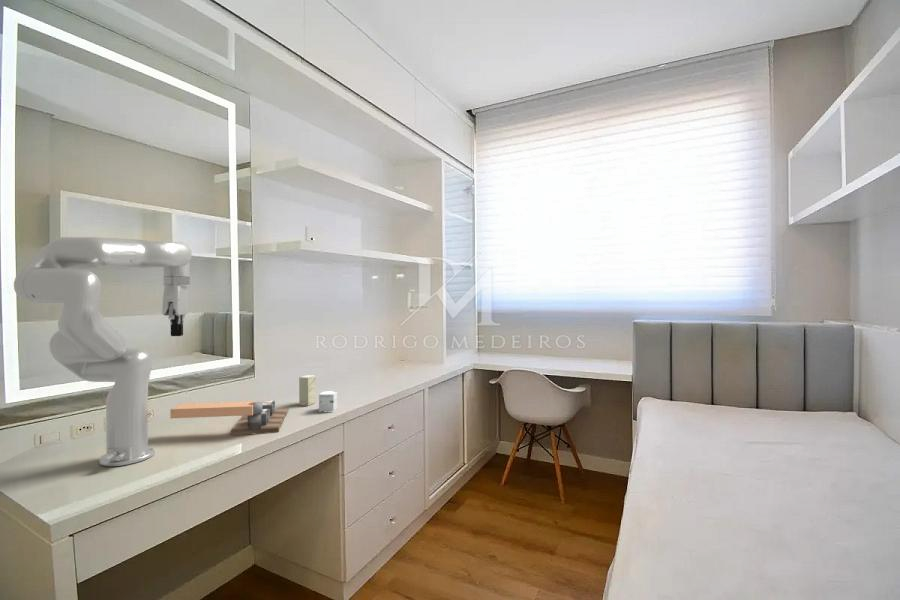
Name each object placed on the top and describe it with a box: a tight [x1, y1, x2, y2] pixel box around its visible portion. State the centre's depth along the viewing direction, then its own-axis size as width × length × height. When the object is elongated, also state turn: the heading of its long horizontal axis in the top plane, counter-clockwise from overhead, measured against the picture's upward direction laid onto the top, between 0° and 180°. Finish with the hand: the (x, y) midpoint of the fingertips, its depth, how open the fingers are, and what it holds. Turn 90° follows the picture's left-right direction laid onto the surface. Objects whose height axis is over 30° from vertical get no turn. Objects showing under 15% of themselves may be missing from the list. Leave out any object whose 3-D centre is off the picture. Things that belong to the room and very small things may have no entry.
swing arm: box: [169, 400, 263, 419], centre depth 139 cm, size 27×7×3 cm, turn 99°
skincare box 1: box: [298, 374, 316, 407], centre depth 179 cm, size 6×4×12 cm
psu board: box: [230, 400, 289, 436], centre depth 152 cm, size 27×15×7 cm, turn 14°
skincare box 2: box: [318, 390, 338, 413], centre depth 169 cm, size 6×6×7 cm
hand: (176, 335), depth 141 cm, fingers closed
